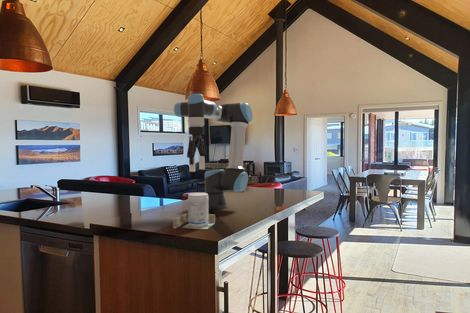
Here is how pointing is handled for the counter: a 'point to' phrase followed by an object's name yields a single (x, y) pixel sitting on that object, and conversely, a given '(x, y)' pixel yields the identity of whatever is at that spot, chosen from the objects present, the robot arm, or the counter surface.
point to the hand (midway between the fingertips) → (197, 170)
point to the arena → (184, 219)
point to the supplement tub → (198, 209)
